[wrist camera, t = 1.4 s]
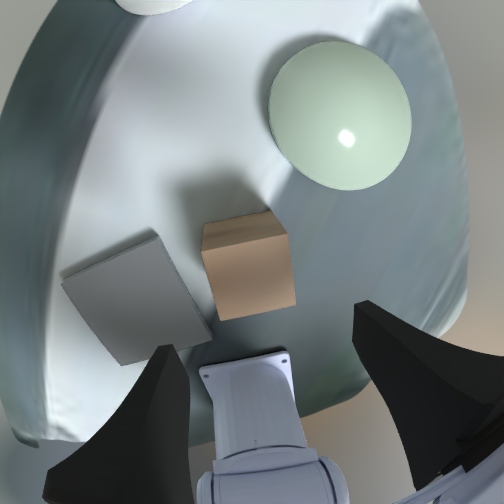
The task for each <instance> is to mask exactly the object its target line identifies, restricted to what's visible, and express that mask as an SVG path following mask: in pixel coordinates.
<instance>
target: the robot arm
mask: <svg viewBox="0 0 504 504" xmlns="http://www.w3.org/2000/svg"><path fill="white" fill-rule="evenodd" d="M352 342H353V344H354V347H355V349H356V351H357V354H358V356H359V358H360V360H361V362H362V364H363V366H364V367H365V369H366V371H367V372H368V374H369V376H370V377H371V379H372V381H373V382H374V384H375V385H376V387H377V388H378V390H379V392H380V394H381V395H382V397H383V399H384V401H385V402H386V404H387V406H388V408H389V411H390V413H391V415H392V418H393V420H394V422H395V425H396V427H397V429H398V433H399V435H400V438H401V441H402V444H403V447H404V450H405V453H406V456H407V460H408V463H409V467H410V471H411V475H412V479H413V484H414V487H415V489H416V491H417V492H416V493H414V494H412V495H410V496H408V497H406V498H404V499H402V500H400V501H397V502H395V503H393V504H427V503H428V502H430V501H432V500H434V501H433V504H504V356H495V355H490V354H485V353H480V352H476V351H472V350H469V349H465V348H462V347H459V346H456V345H453V344H450V343H448V342H445V341H443V340H440V339H438V338H436V337H433V336H431V335H429V334H427V333H425V332H423V331H421V330H419V329H417V328H415V327H413V326H412V325H410V324H408V323H406V322H404V321H403V320H401V319H399V318H397V317H396V316H394V315H392V314H391V313H389V312H387V311H386V310H384V309H382V308H381V307H379V306H377V305H376V304H374V303H372V302H370V301H369V300H366V301H363V302H360V303H356V304H354V321H353V336H352ZM283 359H285V360H283ZM199 374H200V376H201V378H202V380H203V382H204V384H205V386H206V389H207V391H208V393H209V395H210V397H211V399H212V401H213V409H214V427H215V444H216V458H217V460H214V461H213V468H214V472H205V473H204V475H203V476H202V477H201V478H200V479H199V481H198V485H197V504H349V493H348V488H347V484H346V481H345V478H344V476H343V473H342V471H341V470H340V468H339V466H338V465H337V464H336V463H335V462H334V461H332V460H330V459H329V458H328V457H326V456H321V457H318V456H317V452H316V449H315V447H312V448H308V445H307V442H306V438H305V435H304V432H303V428H302V425H301V422H300V418H299V415H298V412H297V408H296V405H295V399H294V391H293V382H292V374H291V366H290V358H289V353H288V352H287V351H280V352H276V353H271V354H267V355H262V356H257V357H253V358H248V359H243V360H237V361H232V362H227V363H221V364H215V365H209V366H203V367H201V368H200V369H199ZM189 416H190V385H189V377H188V375H187V373H186V371H185V369H184V367H183V364H182V362H181V360H180V358H179V356H178V354H177V352H176V350H175V348H174V346H173V344H168V345H161V346H158V347H157V349H156V350H155V352H154V353H153V355H152V357H151V358H150V360H149V362H148V363H147V365H146V367H145V368H144V370H143V372H142V373H141V375H140V376H139V378H138V380H137V381H136V383H135V384H134V386H133V388H132V389H131V391H130V392H129V393H128V395H127V396H126V398H125V399H124V401H123V402H122V403H121V405H120V406H119V408H118V409H117V410H116V411H115V413H114V414H113V415H112V416H111V417H110V419H109V420H108V421H107V422H106V423H105V424H104V425H103V426H102V427H101V428H100V429H99V430H98V431H97V432H96V433H95V434H94V435H93V436H92V437H91V438H90V439H89V440H88V441H87V442H86V443H85V444H84V445H83V446H82V447H80V448H79V449H78V450H77V451H75V452H74V453H73V454H72V455H70V456H69V457H68V458H66V459H65V460H64V461H62V462H60V463H59V464H57V465H56V466H54V467H52V468H51V469H49V470H48V472H47V476H46V481H45V485H44V490H43V495H42V498H43V499H44V500H45V501H46V502H47V503H49V504H194V499H193V493H192V487H191V480H190V471H189V461H188V433H189ZM435 498H436V499H435Z"/></svg>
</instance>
